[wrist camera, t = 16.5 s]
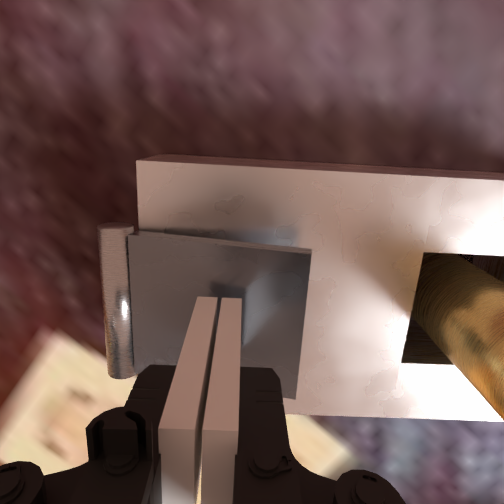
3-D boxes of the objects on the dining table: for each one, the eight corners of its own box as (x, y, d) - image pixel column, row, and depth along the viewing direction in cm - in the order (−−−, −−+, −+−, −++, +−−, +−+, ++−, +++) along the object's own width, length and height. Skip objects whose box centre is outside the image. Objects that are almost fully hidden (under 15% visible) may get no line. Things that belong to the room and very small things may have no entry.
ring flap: (312, 241, 14) (312, 252, 13) (296, 387, 16) (294, 409, 15) (108, 220, 16) (89, 228, 14) (118, 358, 18) (101, 376, 16)
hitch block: (534, 174, 20) (625, 187, 15) (480, 364, 24) (539, 422, 19) (163, 153, 19) (136, 160, 15) (166, 352, 23) (146, 409, 18)
